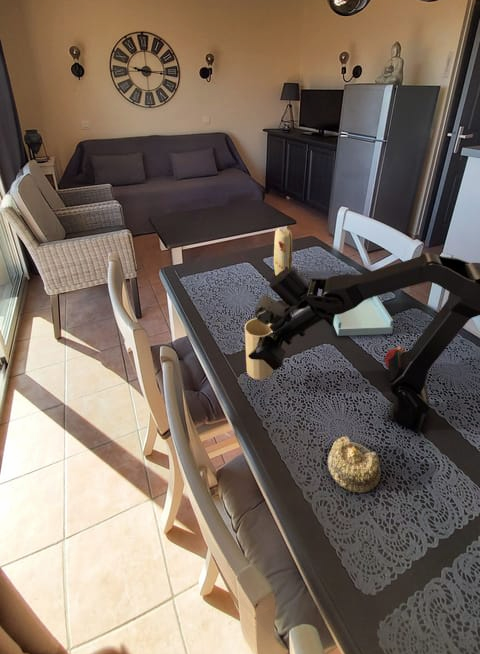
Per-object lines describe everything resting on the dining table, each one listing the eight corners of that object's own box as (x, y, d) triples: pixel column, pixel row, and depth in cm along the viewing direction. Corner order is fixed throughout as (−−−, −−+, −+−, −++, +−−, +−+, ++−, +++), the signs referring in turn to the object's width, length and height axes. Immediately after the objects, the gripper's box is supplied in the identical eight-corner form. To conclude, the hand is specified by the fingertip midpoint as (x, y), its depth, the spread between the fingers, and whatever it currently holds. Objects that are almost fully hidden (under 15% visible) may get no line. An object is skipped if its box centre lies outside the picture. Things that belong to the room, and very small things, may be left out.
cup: (263, 384, 85) (262, 340, 79) (241, 371, 89) (238, 329, 83) (278, 367, 89) (279, 324, 84) (257, 355, 93) (256, 314, 88)
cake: (373, 506, 65) (376, 489, 62) (320, 478, 69) (320, 461, 67) (385, 456, 72) (388, 439, 69) (336, 434, 77) (337, 418, 74)
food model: (271, 272, 142) (271, 225, 134) (288, 271, 143) (289, 224, 135) (275, 285, 133) (276, 235, 125) (293, 283, 134) (295, 234, 126)
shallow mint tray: (391, 334, 106) (394, 321, 105) (337, 335, 106) (339, 323, 104) (372, 303, 121) (374, 291, 119) (325, 304, 121) (326, 293, 119)
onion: (409, 382, 89) (415, 357, 86) (385, 379, 91) (389, 354, 87) (404, 365, 95) (409, 341, 92) (381, 362, 96) (385, 338, 93)
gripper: (284, 270, 87) (242, 302, 94) (265, 315, 70) (216, 349, 78) (316, 303, 87) (271, 332, 95) (304, 355, 71) (251, 385, 79)
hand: (253, 347), depth 87 cm, fingers closed on cup, 7 cm apart
